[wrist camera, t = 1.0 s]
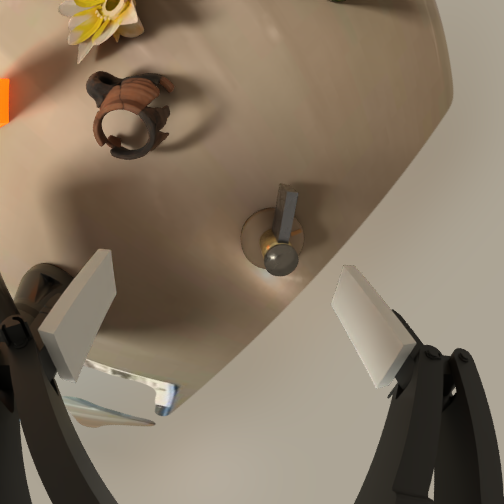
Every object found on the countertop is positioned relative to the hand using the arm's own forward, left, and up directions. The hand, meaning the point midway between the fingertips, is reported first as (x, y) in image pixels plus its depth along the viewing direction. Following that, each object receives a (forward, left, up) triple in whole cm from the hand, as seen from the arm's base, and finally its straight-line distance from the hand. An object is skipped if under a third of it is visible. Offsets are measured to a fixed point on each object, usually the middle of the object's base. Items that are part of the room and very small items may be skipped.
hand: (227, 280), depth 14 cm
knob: (+5, -5, -19) cm, 20 cm away
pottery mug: (-6, +14, -21) cm, 26 cm away
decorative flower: (-6, +30, -21) cm, 37 cm away
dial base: (+4, -8, -20) cm, 22 cm away
